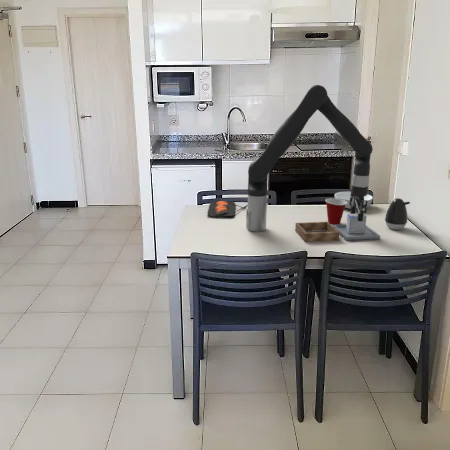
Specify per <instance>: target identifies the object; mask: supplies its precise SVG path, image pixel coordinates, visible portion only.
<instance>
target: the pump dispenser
mask: <svg viewBox="0 0 450 450" xmlns="http://www.w3.org/2000/svg"><path fill="white" fill-rule="evenodd" d="M410 204H411V202H410V201H404V200H403V199H402V198H397V197H396V198H394V199H393V200H392V202H391V203H390V205H389V206H388V208H387V210H386V214H385V217H384V221H385V225H386V227H387V228H388V229H390V230H393V231H394V230H395V231H400V230H403V229H404V228H405V227H406V225H407V224H408V211H407V207H406V205H410Z"/></svg>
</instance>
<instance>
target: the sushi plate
mask: <svg viewBox="0 0 450 450" xmlns="http://www.w3.org/2000/svg"><path fill="white" fill-rule="evenodd" d="M236 207H239V208H240V209H237V210H236ZM247 208H248V204H247V205H245V206H240V205H237V204H236V202H235V201H224V200H219V201H217V200H216V201H210V203H209V205H208V210H207V216H208V217H219V218H225V217H226V218H228V217H234V216H235V214H236V213H237V212H239V211H241V210H242V209H243V210H247Z"/></svg>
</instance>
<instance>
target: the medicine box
mask: <svg viewBox="0 0 450 450" xmlns="http://www.w3.org/2000/svg"><path fill="white" fill-rule="evenodd" d="M367 218H368V217H367V215H366V214H365V213H364V214H363V221H358V213H356V214H351V213H347V216H346V232H347V233H348V234H361V233H365V227H366V226H367Z"/></svg>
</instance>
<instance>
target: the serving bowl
mask: <svg viewBox="0 0 450 450" xmlns="http://www.w3.org/2000/svg"><path fill="white" fill-rule="evenodd" d="M350 195H351V191H338V192H336V193H334V199H340V200H344V201H346V202H347V204H346V206H345V208H346V209H347V208H348V210H351V205H349V202H350ZM373 199H374V197H373V195H370V194H369V193H368V194H367V195H366V196H364V200H367V208H368V207H369V206H370V205H371V204H372V202H373ZM345 208H344V209H345ZM356 210H358V209H357V207H356Z"/></svg>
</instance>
